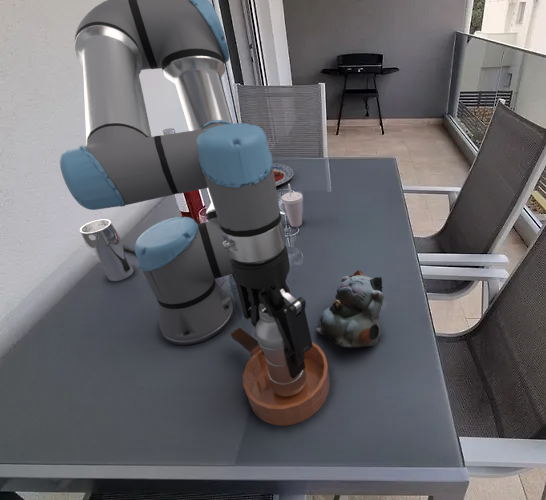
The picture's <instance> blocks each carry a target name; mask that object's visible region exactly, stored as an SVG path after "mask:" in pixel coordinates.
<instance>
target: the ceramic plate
mask: <svg viewBox="0 0 546 500" xmlns="http://www.w3.org/2000/svg"><path fill="white" fill-rule="evenodd" d="M273 172H274V178H275V184H276V187H277V186H280V185H282V184H285V183H287V182H289V180H291V178H292V177H293V176H294V170H293V168H291V167H290V166H288V165H286V164H280V163H273Z"/></svg>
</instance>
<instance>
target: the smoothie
mask: <svg viewBox="0 0 546 500" xmlns="http://www.w3.org/2000/svg"><path fill="white" fill-rule="evenodd" d="M287 185H288V192H286V193H284V194H283V195H282V196H281V202H282V203H283V206H284V208H285V209H284V210H285V212H286V215H287V219H288V222H289V225H290V227H292V228H297V227H301V226H302V224H303V199H304V197H303V194H302V193H301V192H298V191H292V189H291V183H287Z"/></svg>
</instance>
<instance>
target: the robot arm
mask: <svg viewBox="0 0 546 500" xmlns="http://www.w3.org/2000/svg"><path fill="white" fill-rule="evenodd" d="M225 36H226V35H225V32H224V28H223V26H222V24H221V21H220V18H219V16H218V13H217V11H216V9H215V7H214V6H213V4H212V2H210V0H103V1H102V2H101V3H99V4H97V5H96V6H95V7H93V8H92V9H91V10H90V11H89V12H88V13H87V14H86V15H85V16H84V17H83V18H82V19H81V20H80V23H79V24H78V26H77V28H76V31H75V34H74V51H75V52H74V53H75V56H76V58H77V60H78V63H79V64H80V66H81V67H82V68H83V70H82V71H83V91H84V93H83V94H84V117H85V138H86V139H85V143H86V146H85V145H79V146H77V147H75V148H71V149H67V150H65V151H64V152H62V153H61V155H60V157H59V166H60V167H59V168H60V171H61V175H62V178H63V180H64V183H65V185H66V187H67V189H68V191H69V193H70V194H71V196H72V197H73V199H74V200H75V201H76V202H77V204H79V206H81V207H82V208H84V209H87V210H92V211H97V210H104V209H110V208H111V209H112V208H117V207H125V206H129V205H133V204H138V203H142V202H146V201H151V200H156V199H160V198H165V197H170V196H174V195H177V194H179V195H180V194H185V193H189V192H195V191H199V190H203V189H204V190H205V189H206V191H207V194H208V198H209V201H210V204H209V206H208V208H207V209H206V211H205V215H206V218H207V221H206V222H201V223H198V222H197V221H196V220H195V219H193V218H192V217H189V216H183V217H182V216H175V217H171V218H168V219H164V220H162V221H159V222H157V223H155V224H154V225H152V226H150V227H149V228H147V229H146V230H145V231H144V232H143V233H141V234H140V236H138V238H137V240H136V241H135V243H134V249H132V248H129V247H126V246H123V245H122V246H123V250H124V251H126V252H129V253H132V254H134V255H135V257H136V259H137V261H138V267H139V269H140V270H141V271H142V273H143V274H144V276H145V279H146V280H147V282H148V283H147V284H149V287H150V289H151V291H152V293H153V296H154V298H156V301H157V303H158V325H159V330H160V332H161V334H162V336H163V338H164V339H165V340H166V341H167V342H169V343H171V344H174V345H178V346H192V345H196V344H199V343H204V342H206V341H208V340H210V339H213V338H214V337H215V336H217V335H218V334H220V333H221V332H222V331H224V330H225V329H226V328H227V327H228V325H229V324H230V323H231V321H232V319H233V317H234V312H235V311H234V305H233V302H232V298H231V296H230V295H229V294H227V293H226V291H225V290H223V289H222V287H221V286H220V285H219V284H218V283H217V281H216V280H217V279H220V278H224V277H227V276H230V275H231V276H232V279H233V280H234V282H235V285H236V289H237V293H238V298H239V301H240V306H241V311H242V314H243V318H245V319H246V320H249V319H250V324H251V325H252V326H253V327H254V328H255V327H256V324H257V322H258V320H259V319H260V316H259V309H258V306H259V303H260V302H261V303H263V304H264V305H265V308H266V310H267V312H268V314H269V316H270V317H273V318H274V320H275V322H276V324H277V326H278V329H279V331H280V333H281V335H282V338H283V340H284V342H285V344H286V347H287V348H286V349H285V350H284V351H285V353H284V354H285V355H286V360H287V364H288V369H289V373H290V377H292V378H293V379H294V378H295V377H296V376H297V375H298V374H299V373H300V372H301V371H302V370H303V369H305V363H304V360H305V357H304V354H305V353H306V352H307V351H308V350H309V349H310V348H312V347H313V344H312V342H313V340H312V336H311V332H310V327H309V323H308V319H307V314H306V305H307V302H306V300H305V298H303V296H299V297H298V298H295V297H294V296H293V295H291V290H290V287H289V285H288V284H287V277H288V274H289V272H290V268H291V263H290V258H289V252H288V247H287V245H286V244H287V238H286V233H285V227H284V224H283V217H282V215H281V209H280V208H281V207H280V203H279V197H278V192H277V186H276V184H275V178H274V172H273V164H274V163H273V162H274V158H273V154H272V152H271V151H270V147H269V142H268V137H267V134H266V132H265V131H264V129H262V128H261V126H260V127H259V126H258V125H256V124H255V125H254V124H251V123H245V122H244V123H243V122H239V123H237V122H235V123H234V122H233V118H232V114H231V111H230V107H229V104H228V100H227V97H226V94H225V90H224V86H223V83H222V80H221V78H222V77H223V75H224V74H225V71H226V65H225V64H226V63H228V62H229V60H230V52H229V45H228V42H227V40H226V37H225ZM159 69H161V71H162V73H163V76H164V78H165V79H166V80H168V82H171V83H172V84H174V85H175V87H176V91H177V94H178V97H179V101H180V104H181V107H182V111H183V114H184V117H185V121H186V125H187V128H188V131H181V132H180V131H179V132H175V133H168V134H161V135H155V136H152V132H151V127H150V121H149V117H148V112H147V108H146V102H145V98H144V93H143V88H142V83H141V78H140V74H141V73H142V71H144V70H159ZM261 350H262V349H261ZM262 353H263V351H262ZM263 355H264V353H263ZM264 356H265V355H264Z"/></svg>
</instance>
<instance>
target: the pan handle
mask: <svg viewBox="0 0 546 500" xmlns="http://www.w3.org/2000/svg"><path fill="white" fill-rule="evenodd" d="M230 337H231V339H232V340H234V341H235V342H236V343H237V344H238V345H240V346H241V347H242V348H244V349H245V350H246V351H247V352H248V353H249V355H250V358H251V357H252V356H253V355H256V352H259V351H261V347H260V345H259V343H258V341H257V339H256V338H255V337H253V336H252V335H250V333H248V332H246V331H245V330H244V329H242V327H238V328H237V329H235V330H234V331H233V332H231V333H230ZM258 350H259V351H258Z"/></svg>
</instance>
